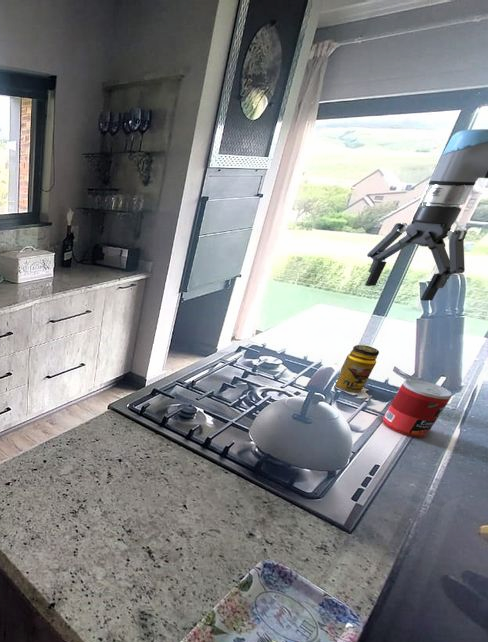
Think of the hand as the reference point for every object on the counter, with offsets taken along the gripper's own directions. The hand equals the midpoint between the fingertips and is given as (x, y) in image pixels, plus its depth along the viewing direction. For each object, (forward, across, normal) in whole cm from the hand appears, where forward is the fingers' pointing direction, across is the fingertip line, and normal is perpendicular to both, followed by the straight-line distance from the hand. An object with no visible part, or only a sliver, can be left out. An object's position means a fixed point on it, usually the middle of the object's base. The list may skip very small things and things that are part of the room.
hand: (396, 292), depth 106 cm
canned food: (+26, +23, -14) cm, 37 cm away
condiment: (+26, +4, -8) cm, 27 cm away
